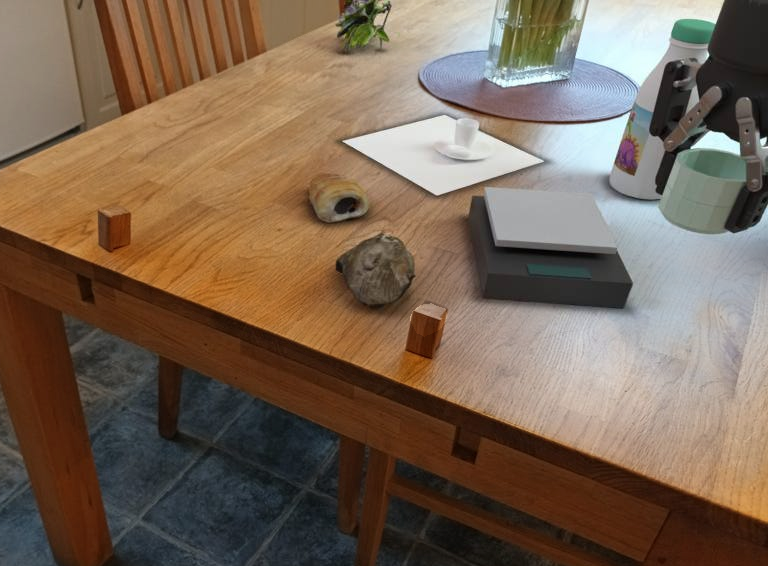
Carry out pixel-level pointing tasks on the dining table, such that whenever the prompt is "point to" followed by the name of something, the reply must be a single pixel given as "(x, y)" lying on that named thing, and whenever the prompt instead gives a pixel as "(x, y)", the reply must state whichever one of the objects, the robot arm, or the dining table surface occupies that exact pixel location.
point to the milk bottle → (637, 144)
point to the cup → (703, 189)
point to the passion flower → (362, 23)
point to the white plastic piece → (442, 153)
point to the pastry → (337, 197)
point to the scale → (546, 248)
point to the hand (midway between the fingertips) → (699, 210)
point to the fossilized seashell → (377, 270)
